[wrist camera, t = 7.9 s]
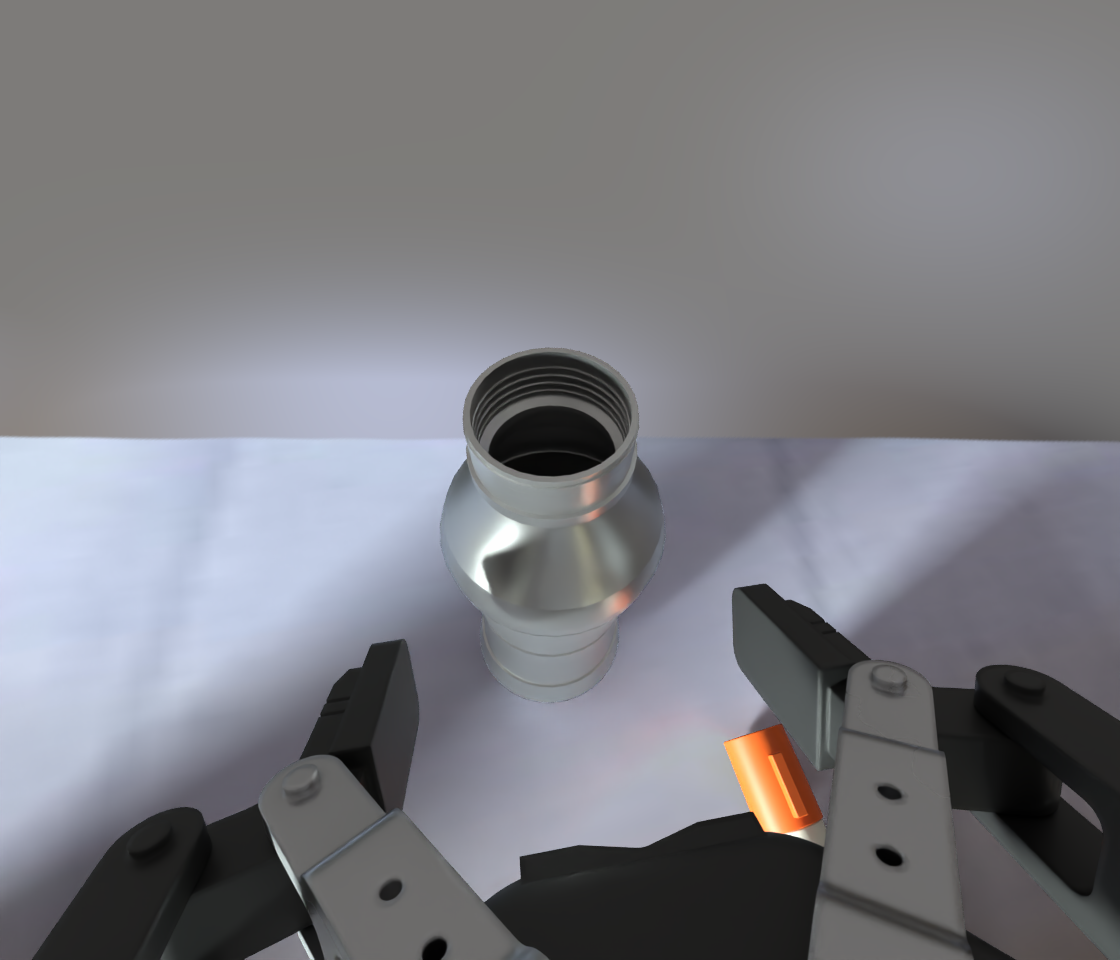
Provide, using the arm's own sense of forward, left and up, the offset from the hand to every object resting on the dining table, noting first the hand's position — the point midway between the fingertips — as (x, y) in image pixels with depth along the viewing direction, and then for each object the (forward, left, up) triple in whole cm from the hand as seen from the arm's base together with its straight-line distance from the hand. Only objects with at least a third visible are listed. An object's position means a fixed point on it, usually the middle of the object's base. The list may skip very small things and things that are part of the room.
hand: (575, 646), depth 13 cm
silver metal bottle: (+3, +2, -16) cm, 16 cm away
